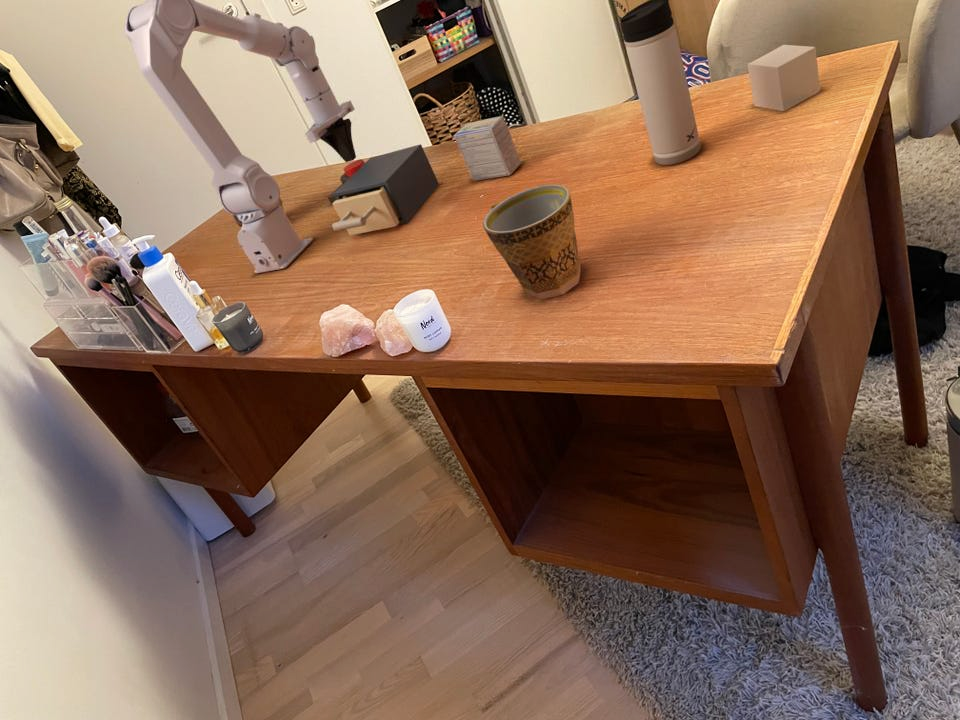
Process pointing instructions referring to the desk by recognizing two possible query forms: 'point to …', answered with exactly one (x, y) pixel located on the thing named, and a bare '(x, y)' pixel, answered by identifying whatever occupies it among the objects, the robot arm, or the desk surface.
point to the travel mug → (661, 81)
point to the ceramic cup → (537, 239)
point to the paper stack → (488, 148)
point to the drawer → (366, 211)
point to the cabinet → (396, 179)
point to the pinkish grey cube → (784, 77)
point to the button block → (343, 180)
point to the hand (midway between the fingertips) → (351, 159)
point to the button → (353, 167)
